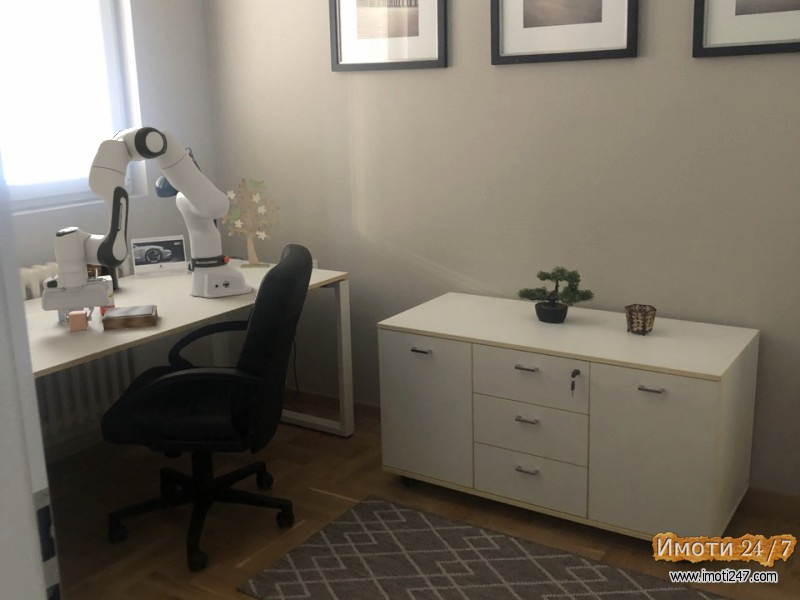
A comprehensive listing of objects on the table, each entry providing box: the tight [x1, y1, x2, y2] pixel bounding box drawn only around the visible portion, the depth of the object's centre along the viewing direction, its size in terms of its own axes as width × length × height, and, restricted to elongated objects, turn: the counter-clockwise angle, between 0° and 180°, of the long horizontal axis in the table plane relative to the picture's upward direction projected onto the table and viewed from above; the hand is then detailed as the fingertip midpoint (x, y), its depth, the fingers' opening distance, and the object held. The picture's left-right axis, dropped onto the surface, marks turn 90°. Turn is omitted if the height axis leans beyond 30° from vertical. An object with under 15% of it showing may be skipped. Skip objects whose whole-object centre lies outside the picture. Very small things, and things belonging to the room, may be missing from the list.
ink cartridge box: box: [96, 269, 116, 315], centre depth 290 cm, size 9×5×15 cm, turn 23°
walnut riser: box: [101, 304, 158, 332], centre depth 275 cm, size 16×14×4 cm
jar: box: [86, 264, 120, 291], centre depth 324 cm, size 12×12×15 cm
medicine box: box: [57, 308, 85, 322], centre depth 283 cm, size 8×4×9 cm, turn 163°
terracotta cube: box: [68, 310, 89, 331], centre depth 271 cm, size 5×5×5 cm
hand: (78, 321), depth 271 cm, fingers closed on terracotta cube, 5 cm apart
